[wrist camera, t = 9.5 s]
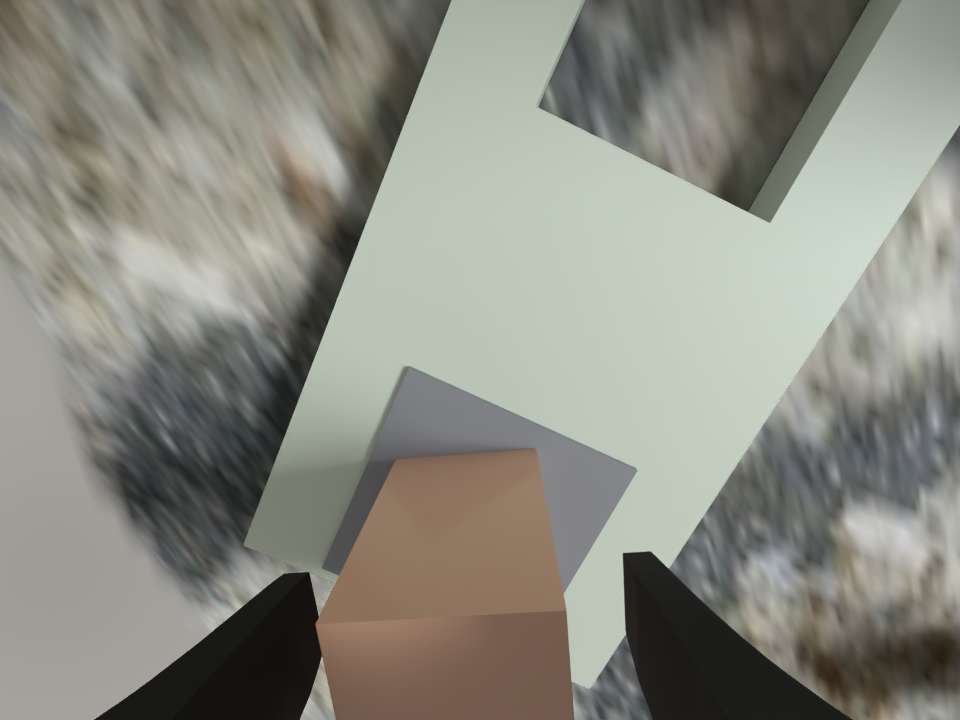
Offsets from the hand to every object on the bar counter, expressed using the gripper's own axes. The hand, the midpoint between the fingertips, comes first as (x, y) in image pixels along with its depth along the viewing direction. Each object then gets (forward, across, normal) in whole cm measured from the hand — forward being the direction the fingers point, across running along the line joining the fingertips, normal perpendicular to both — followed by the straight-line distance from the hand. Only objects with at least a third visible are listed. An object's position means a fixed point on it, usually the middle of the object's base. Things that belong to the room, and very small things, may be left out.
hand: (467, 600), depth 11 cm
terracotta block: (+3, 0, 0) cm, 3 cm away
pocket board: (+5, -4, -6) cm, 9 cm away
